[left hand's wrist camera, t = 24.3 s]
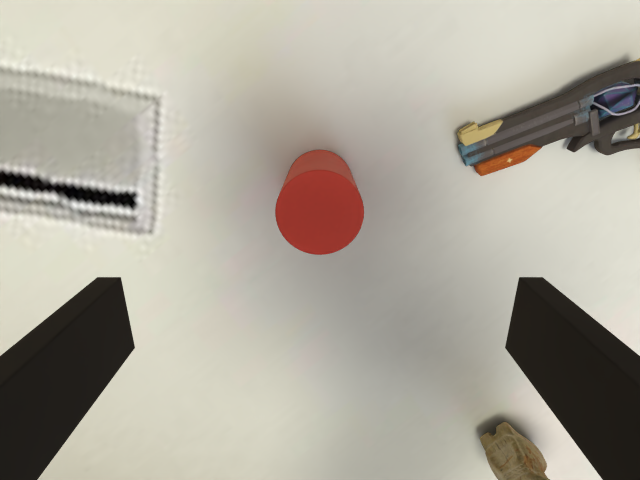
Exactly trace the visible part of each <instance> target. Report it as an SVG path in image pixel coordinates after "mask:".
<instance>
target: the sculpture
mask: <svg viewBox="0 0 640 480" xmlns="http://www.w3.org/2000/svg"><path fill="white" fill-rule="evenodd" d="M480 441H481V443H482V445H483V447H484V449H485V451H486V457H487V460H488V463H489V465H490V467H491V469H492V471H493V473H494V474H495V476H496V477H497V479H498V480H550V479H548V478H547V476H546V475H545V473H544V472H545V470H546V467H547V464H546V461H545V459H544V457H543V455H542V453H541V452H540V451H539V449H538V448H537V447H536V446H535V445H534V444H533V443H532V442H531V441H529V440H528V439H526V438H525V437H523V436H522V435H520V434H519V433H518V432H516V431H515V430H514V429H513V428H512V427H511V426H510V424H508V423H507V422H503V423H501V424H500V425H498V426H497V427H496V434H495V435H492V434H491V433H490V432H487V433H485V434H484V435H482V436H481V437H480Z"/></svg>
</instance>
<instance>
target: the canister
mask: <svg viewBox="0 0 640 480" xmlns="http://www.w3.org/2000/svg"><path fill="white" fill-rule="evenodd" d="M275 211H276V221H277V225H278V227H279V230H280V232H281V233H282V235H283V236H284V238H285V239H286V240H287V241H288V242H289V243H290V244H291V245H292V246H294V247H295V248H297V249H299V250H301V251H303V252H306V253H310V254H318V255H322V254H329V253H333V252H336V251H338V250H341V249H342V248H344V247H346V246H347V245H348V244H349V243H351V242H352V240H353V239H354V238H355V237H356V235H357V234H358V232H359V230H360V228H361V226H362V222H363V217H364V207H363V202H362V199H361V196H360V193H359V191H358V188H357V186H356V184H355V181H354V179H353V176H352V174H351V171H350V169H349V167H348V165H347V164H346V162H345V161H344V160H343V159H342V158H341V157H339V156H338V155H336V154H335V153H332V152H330V151H326V150H314V151H310V152H307V153H305V154H303V155H301V156H300V157H299V158H298V159H297V160H296V161H295V162H294V163H293V164H292V166H291V168H290V170H289V173H288V175H287V177H286V180H285V182H284V185H283V187H282V189H281V192H280V194H279V197H278V199H277V203H276V210H275Z"/></svg>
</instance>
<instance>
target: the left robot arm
mask: <svg viewBox="0 0 640 480" xmlns="http://www.w3.org/2000/svg"><path fill="white" fill-rule="evenodd" d="M134 348H135V346H134V341H133V336H132V331H131V326H130V321H129V316H128V311H127V306H126V301H125V296H124V291H123V286H122V281H121V277H97V278H96V279H95V280H94V281H92V282H91V283H90V284H89V285H87V286H86V287H85V288H84V289H83V290H81V291H80V292H79V293H78V294H76V295H75V296H74V297H73V298H71V299H70V300H69V301H68V302H67V303H65V304H64V305H63V306H62V307H60V308H59V309H58V310H57V311H55V312H54V313H53V314H52V315H50V316H49V317H48V318H47V319H46V320H44V321H43V322H42V323H41V324H39V325H38V326H37V327H36V328H34V329H33V330H32V331H31V332H29V333H28V334H27V335H26V336H25V337H23V338H22V339H21V340H20V341H18V342H17V343H16V344H15V345H13V346H12V347H11V348H10V349H8V350H7V351H6V352H5V353H4V354H2V355H1V356H0V480H37V479H38V478H39V477H40V475H41V474H42V473H43V471H44V470H45V468H46V467H47V466H48V464H49V463H50V462H51V460H52V459H53V458H54V456H55V455H56V454H57V452H58V451H59V450H60V448H61V447H62V445H63V444H64V443H65V441H66V440H67V439H68V437H69V436H70V435H71V433H72V432H73V431H74V429H75V428H76V427H77V425H78V424H79V422H80V421H81V420H82V418H83V417H84V416H85V414H86V413H87V412H88V410H89V409H90V408H91V406H92V405H93V404H94V402H95V401H96V399H97V398H98V397H99V395H100V394H101V393H102V391H103V390H104V389H105V387H106V386H107V385H108V383H109V382H110V381H111V379H112V378H113V376H114V375H115V374H116V372H117V371H118V370H119V368H120V367H121V366H122V364H123V363H124V362H125V360H126V359H127V358H128V356H129V355H130V353H131V352H132V351H133V349H134ZM505 348H506V349H507V351H508V352H509V353H510V355H511V356H512V358H513V359H514V360H515V362H516V363H517V364H518V366H519V367H520V368H521V370H522V371H523V372H524V374H525V375H526V376H527V378H528V379H529V381H530V382H531V383H532V385H533V386H534V387H535V389H536V390H537V391H538V393H539V394H540V395H541V397H542V398H543V399H544V401H545V402H546V404H547V405H548V406H549V408H550V409H551V410H552V412H553V413H554V414H555V416H556V417H557V418H558V420H559V421H560V422H561V424H562V425H563V427H564V428H565V429H566V431H567V432H568V433H569V435H570V436H571V437H572V439H573V440H574V441H575V443H576V444H577V445H578V447H579V448H580V450H581V451H582V452H583V454H584V455H585V456H586V458H587V459H588V460H589V462H590V463H591V464H592V466H593V467H594V468H595V470H596V471H597V473H598V474H599V475H600V477H601V478H602V479H603V480H640V356H639V355H638V354H636V353H635V352H634V351H633V350H632V349H630V348H629V347H628V346H627V345H625V344H624V343H623V342H622V341H620V340H619V339H618V338H617V337H615V336H614V335H613V334H612V333H611V332H609V331H608V330H607V329H606V328H604V327H603V326H602V325H601V324H599V323H598V322H597V321H596V320H594V319H593V318H592V317H591V316H590V315H588V314H587V313H586V312H585V311H583V310H582V309H581V308H580V307H578V306H577V305H576V304H575V303H573V302H572V301H571V300H570V299H569V298H567V297H566V296H565V295H564V294H562V293H561V292H560V291H559V290H557V289H556V288H555V287H554V286H553V285H551V284H550V283H549V282H548V281H546V280H545V279H544V278H543V277H519V281H518V286H517V291H516V296H515V301H514V306H513V311H512V316H511V321H510V326H509V331H508V336H507V341H506V346H505Z"/></svg>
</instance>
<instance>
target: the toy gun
mask: <svg viewBox="0 0 640 480" xmlns="http://www.w3.org/2000/svg"><path fill="white" fill-rule="evenodd" d="M632 78H634V84H632V85H631V84H629V83H627V82H621V81H623V80H627V79H632ZM634 101H635V104H636V106H635V107H632V108H630V109H627V110H625V111H622V112H620V113H615V112H618V111H620V110H623V109H626V108H628V107H631V106H633V104H634ZM610 114H611V115H612V116H610V117H607V118H605V119H603V120H601V121H599V118H602V117H604V116H607V115H610ZM639 123H640V58H639V59H637V60H636V61H632V62H629V63H626V64H624V65H621V66H619V67H616V68H614V69H612V70H609V71H607V72H604V73H602V74H599V75H597V76H595V77H593V78H591V79H589V80H587V81H585V82H584V83H582V84H580V85H578V86H577V87H575V88H573V89H572V90H570V91H569V92H567V93H565V94H563V95H561V96H559V97H556V98H554V99H551V100H549V101H546V102H544V103H541V104H539V105H536V106H534V107H531V108H529V109H526V110H524V111H521V112H519V113H516V114H514V115H511V116H508V117H506V118H503V119H501V120H500V119H499V120H496V121H493V122H491V123H488V124H486V125H483V126H480V127H478V126H477V123H475V122H472V123H470V124H468V125H467V126H465V127H463V128H462V129H460V130H459V132H458V133H457V134H458V137H459V140H460V142H461V144H459V145H458V148H459V152H460V154H461V155H462V158H463V162H464V164H465V166H468V165H470V166H473V165H474V167H475V170H476V172H477V173H478V174H479V175H480V176H483V175H486V174H489V173H492V172H495V171H498V170H501V169H504V168H507V167H510V166H513V165H516V164H519V163H521V162H524V161H526V160H527V159H528V158H529V157H531V156H532V155H533V154H534V153H536V152H537V151H538V150H539V149H541V148H542V146H544V145H547V144H550V143H552V142H555V141H558V140H561V139H564V138H568V137H573V138H572V140H571V141H570V143H569V145H568V146H567V149H568V150H570V151H572V152H576V151H577V150H579V149H580V148H582V147H583V146H585V145H586V144H588V143H590V142H592V141H594V145H595V148H596V150H597V151H598V152H600V153H602V154H604V155H611V154H614V153H616V152H619V151H623V150H627V149H634V148H640V138H638V139H636V138H637V137H638V135H639V134H640V125H639V129H638V124H639ZM632 125H634V133H633V134H632V135H630V136H628V137H627V138H628V139H634V140H626V141H620V142H616V143H613V144H611V139H612V137H613V135H614V133H615V132H616V131H618V130H621V129H624V128H627V127H629V126H632Z"/></svg>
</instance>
